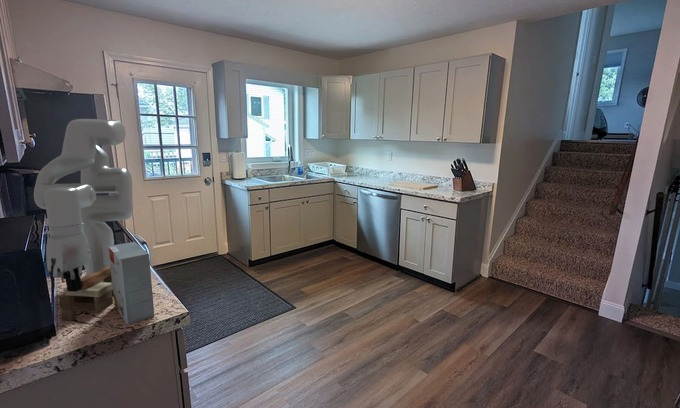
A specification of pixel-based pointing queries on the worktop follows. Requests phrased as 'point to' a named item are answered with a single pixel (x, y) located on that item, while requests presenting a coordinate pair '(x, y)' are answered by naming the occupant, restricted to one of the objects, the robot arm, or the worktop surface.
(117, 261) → the hard drive box
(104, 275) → the bar
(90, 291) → the lid
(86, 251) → the robot arm
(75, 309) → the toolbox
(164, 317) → the worktop surface
